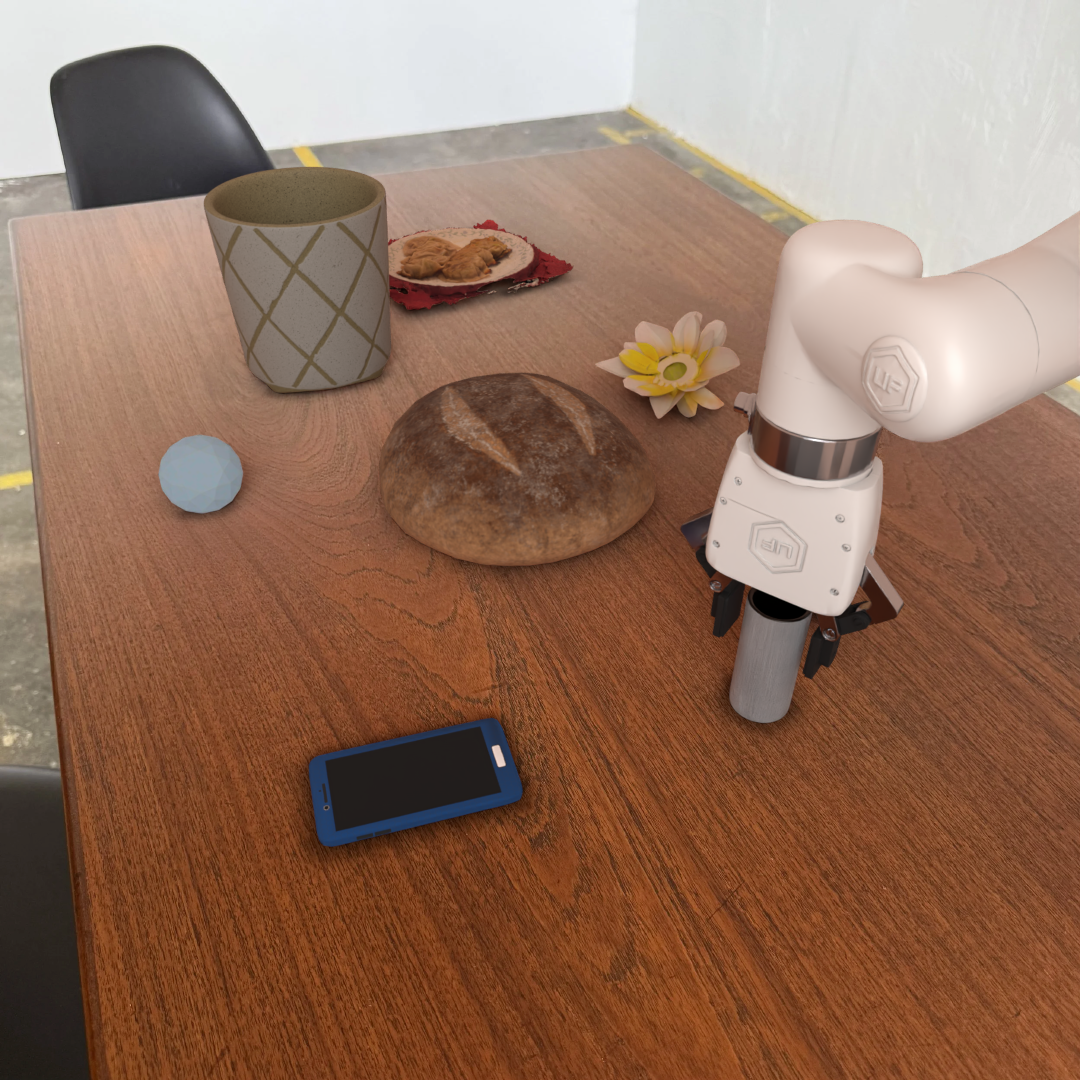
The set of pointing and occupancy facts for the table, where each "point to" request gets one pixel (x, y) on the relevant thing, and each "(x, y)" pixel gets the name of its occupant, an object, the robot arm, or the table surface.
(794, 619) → the planter
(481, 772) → the cell phone
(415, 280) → the plate with food
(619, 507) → the bread
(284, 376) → the planter
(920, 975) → the table surface
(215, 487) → the gemstone
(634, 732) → the table surface
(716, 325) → the decorative flower
